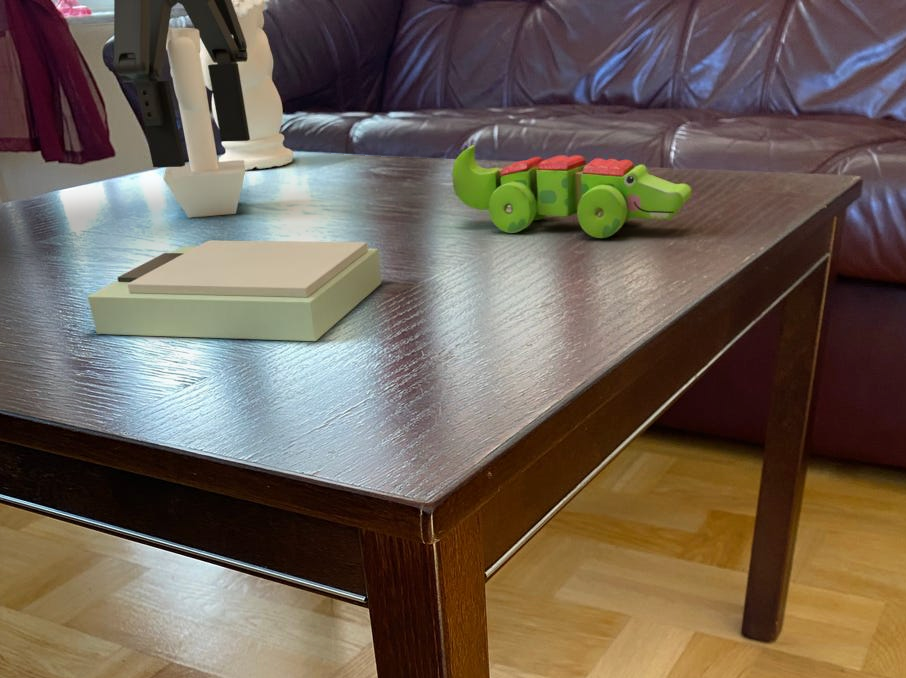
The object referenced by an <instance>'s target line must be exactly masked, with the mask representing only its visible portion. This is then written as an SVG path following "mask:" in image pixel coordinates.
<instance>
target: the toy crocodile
mask: <svg viewBox="0 0 906 678" xmlns="http://www.w3.org/2000/svg"><path fill="white" fill-rule="evenodd" d="M475 150H476V144H472V145H470V146H469V147H467V148H466V149H464V150H463V151H462V152H461V153H460V154H458V156H457V157H456V159H455V161H454V164H453V167H452V173H451V177H452V185H453V190H454V193H455V194H456V196H457V198H458V199H459V200H460V202H462V204H463V205H466V206H468V207H470V208H472V209H476V210H480V211H482V210H483V211H489V216H490V219H491V221H492V222H493V224H494V225H495V227H497V229H499V230H500V231H502V232H505V233H507V234H508V233H509V234H514V233H518V232H521V231H523V230H525V229H527V228H528V227H529V226H530V225H531V224H532V223H533V222H534V221H539V220H542V219H544V218H545V217H547V216H549V217H570V216H573V215H576V214H577V221H578V223H579V225H580V227H581V229H582V230H583V231H584V232H585V233H586V234H587V235H589V236H591V237H593V238H596V239H605V238H609V237H611V236H613V235H614V234H615V233H617V232H618V231H619V230H620V229H621V228H622V227H623V225H624V224H625V223H626V222H628V221H629V220H630V219H631V220H632V219H635V220H671V219H673V217H675V216H676V214H677V213H679V211H681V210H682V208H683V205H684V204H685V203H687V201H688V200H689V199H690V198H691V196H692V191H693V190H692V187H691V186H690V185H688V184H687V183H674V182H671V181H668V180H666V179H663V178H660V177H658V176H655V175H652V174H649V171H648V168H647V167H646V165H645V164H638V165H636V166H634V163H633V161H631V160H630V159H622V160H620V161H619V160H617V159H616V158H609V159H607V160H606V159H604V158H601V157H596V158H594V159H593V160H591V161H590V162H588V163H587V160H586V159H585V158H584V156H582V155H579V154H577V155H575V154H574V155H571V156H569V157H568V156H567V155H563V154H559V155H556V156H553V157H550V158H546V159H544V160H543V158H542V157H541V156H534V157H530V158H529V159H527V160H519V161H517V162H515V163H511V164H509V165H507V166H504V167H503V168H501V167H491V168H484V167H482V166H480V165H479V164H478V163H477V161H476V157H475ZM586 163H587V164H586Z"/></svg>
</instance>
